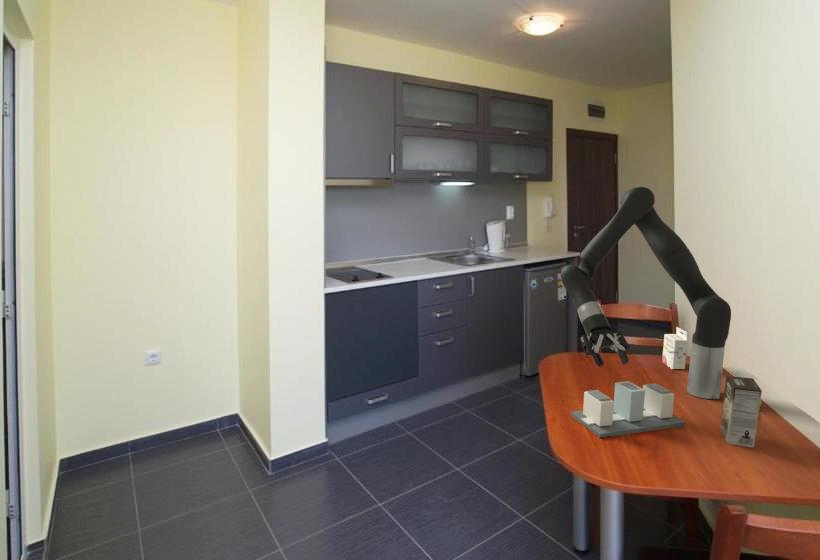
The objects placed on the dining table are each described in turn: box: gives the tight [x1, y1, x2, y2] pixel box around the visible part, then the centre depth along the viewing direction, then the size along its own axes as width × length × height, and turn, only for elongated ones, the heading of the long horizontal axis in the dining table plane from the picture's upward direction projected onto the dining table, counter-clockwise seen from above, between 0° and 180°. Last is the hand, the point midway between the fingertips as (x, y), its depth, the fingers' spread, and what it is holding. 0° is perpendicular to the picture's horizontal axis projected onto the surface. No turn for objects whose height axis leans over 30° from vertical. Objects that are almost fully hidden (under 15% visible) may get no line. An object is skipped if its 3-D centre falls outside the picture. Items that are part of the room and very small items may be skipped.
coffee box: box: [720, 375, 763, 449], centre depth 130 cm, size 9×6×16 cm
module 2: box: [642, 382, 675, 419], centre depth 143 cm, size 4×8×8 cm, turn 14°
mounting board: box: [570, 409, 687, 439], centre depth 141 cm, size 28×14×2 cm, turn 104°
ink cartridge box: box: [661, 326, 688, 370], centre depth 185 cm, size 9×5×15 cm, turn 179°
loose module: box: [613, 381, 645, 422], centre depth 140 cm, size 4×7×9 cm, turn 14°
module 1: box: [582, 389, 614, 426], centre depth 138 cm, size 4×8×8 cm, turn 14°
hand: (613, 364), depth 146 cm, fingers open, 8 cm apart
